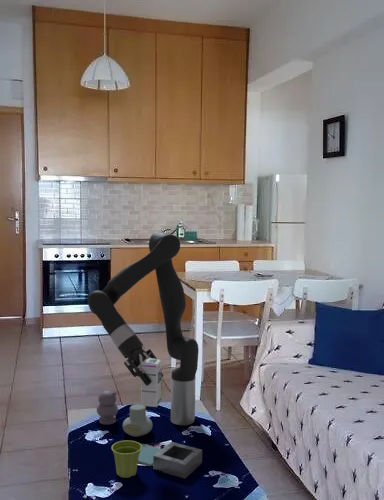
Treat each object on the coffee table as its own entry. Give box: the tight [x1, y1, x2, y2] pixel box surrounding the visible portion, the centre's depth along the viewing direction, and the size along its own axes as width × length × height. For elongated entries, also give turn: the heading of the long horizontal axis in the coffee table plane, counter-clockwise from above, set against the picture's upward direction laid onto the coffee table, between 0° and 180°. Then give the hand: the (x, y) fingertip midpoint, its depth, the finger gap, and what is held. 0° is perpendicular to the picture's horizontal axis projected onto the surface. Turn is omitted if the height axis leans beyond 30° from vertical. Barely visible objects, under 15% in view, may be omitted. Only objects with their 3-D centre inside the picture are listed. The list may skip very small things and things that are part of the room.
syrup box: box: [140, 358, 163, 408], centre depth 178 cm, size 6×6×14 cm
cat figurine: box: [96, 388, 119, 426], centre depth 208 cm, size 8×8×12 cm
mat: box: [138, 443, 163, 467], centre depth 182 cm, size 11×11×1 cm
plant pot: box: [111, 440, 142, 479], centre depth 169 cm, size 9×9×9 cm
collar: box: [152, 441, 203, 480], centre depth 175 cm, size 12×12×4 cm
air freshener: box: [122, 403, 153, 438], centre depth 198 cm, size 11×8×10 cm
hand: (155, 380), depth 178 cm, fingers closed on syrup box, 7 cm apart
